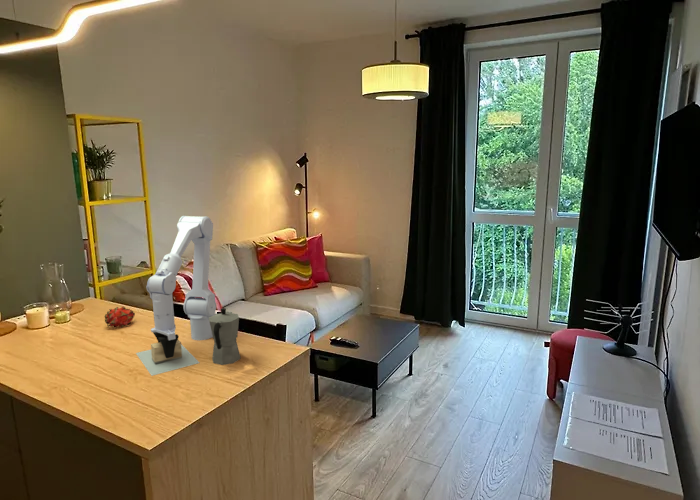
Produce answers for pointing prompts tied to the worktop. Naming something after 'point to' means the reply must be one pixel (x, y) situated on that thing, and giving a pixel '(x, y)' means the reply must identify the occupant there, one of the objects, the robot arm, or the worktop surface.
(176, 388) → the worktop surface
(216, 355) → the coffeepot
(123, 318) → the dragon fruit
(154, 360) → the block
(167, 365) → the board
